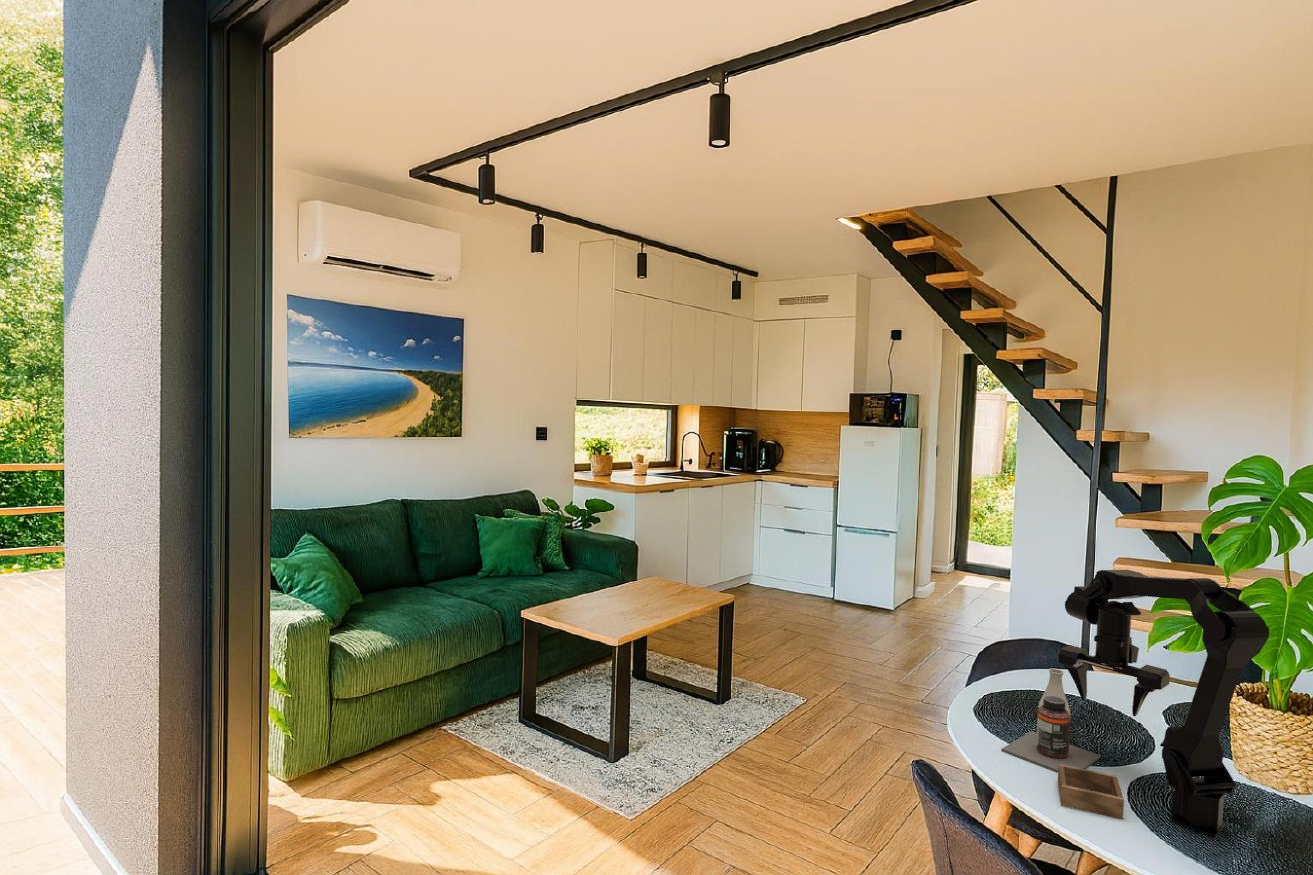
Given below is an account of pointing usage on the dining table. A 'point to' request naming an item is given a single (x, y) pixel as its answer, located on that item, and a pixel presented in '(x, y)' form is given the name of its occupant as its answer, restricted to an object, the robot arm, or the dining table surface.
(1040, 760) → the grey-brown square block
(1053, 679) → the flask
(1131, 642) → the robot arm
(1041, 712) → the supplement bottle
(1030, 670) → the dining table surface
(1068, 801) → the walnut box
